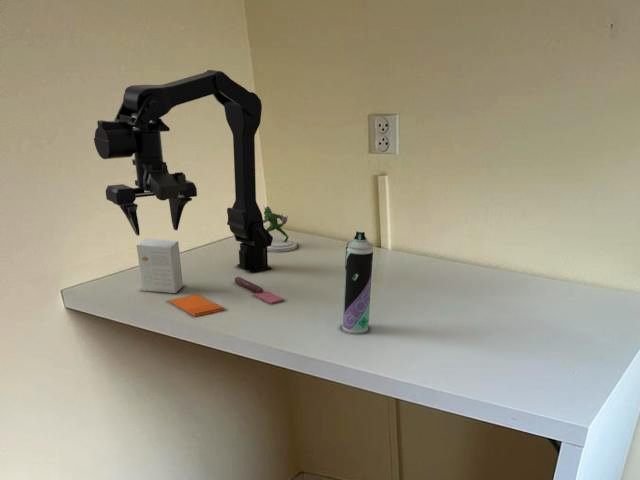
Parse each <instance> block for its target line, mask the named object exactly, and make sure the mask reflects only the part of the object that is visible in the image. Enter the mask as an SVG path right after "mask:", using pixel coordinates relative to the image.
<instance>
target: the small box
mask: <svg viewBox="0 0 640 480" xmlns="http://www.w3.org/2000/svg"><path fill="white" fill-rule="evenodd" d="M136 253H137V259H138V267H139V273H140V279H141V280H140V281H141V287H142V288H141V289H142V291H144V292H152V293H153V292H154V293H169V294H177V293H178V291H180V289H181V288H182V287H184V282H183V271H182V263H181V254H180V245H179V240H169V239H168V240H167V239H158V238H157V239H156V238H155V239H154V238H144V239H142V240H141V241H140V242H138V243H136Z"/></svg>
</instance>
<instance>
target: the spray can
mask: <svg viewBox="0 0 640 480" xmlns="http://www.w3.org/2000/svg"><path fill="white" fill-rule="evenodd" d="M373 256H374V244H373V243H372V242H370V241H369V240H368V238H367V237H366V232H365V231H355V235H354V236H353V237H352V239H351V240H350V241H347V242H346V246H345V257H344V258H345V260H344V284H343V306H342V307H343V308H342V309H343V310H342V331H344V332H346V333H348V334H355V335H358V334H359V335H361V334H364V333H367V332H368V331H369V324H370V323H369V321H370V306H371V292H372V291H371V290H372V277H373V276H372V275H373V260H374V257H373Z"/></svg>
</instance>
